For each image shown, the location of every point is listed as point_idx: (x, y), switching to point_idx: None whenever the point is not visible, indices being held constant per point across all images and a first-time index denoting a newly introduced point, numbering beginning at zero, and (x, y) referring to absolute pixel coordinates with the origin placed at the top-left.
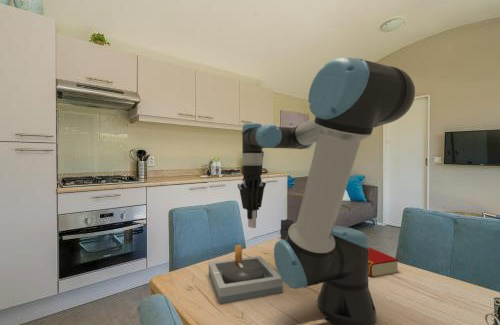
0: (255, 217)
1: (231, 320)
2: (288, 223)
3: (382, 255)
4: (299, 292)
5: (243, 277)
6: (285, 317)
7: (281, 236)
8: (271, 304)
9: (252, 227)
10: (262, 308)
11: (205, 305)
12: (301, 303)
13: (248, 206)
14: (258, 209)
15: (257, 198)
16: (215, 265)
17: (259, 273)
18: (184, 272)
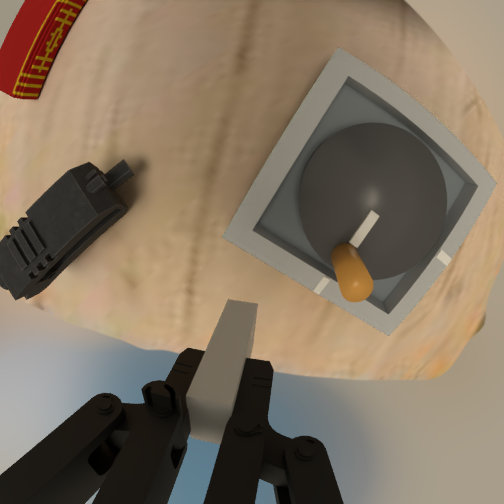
0: (214, 348)
1: (492, 116)
2: (10, 257)
3: (24, 10)
4: (293, 29)
5: (428, 159)
6: (414, 19)
7: (77, 235)
8: (401, 62)
9: (256, 312)
10: (428, 74)
11: (489, 202)
12: (340, 6)
13: (301, 467)
14: (159, 384)
15: (105, 498)
16: (399, 303)
17: (372, 128)
18: (395, 363)
